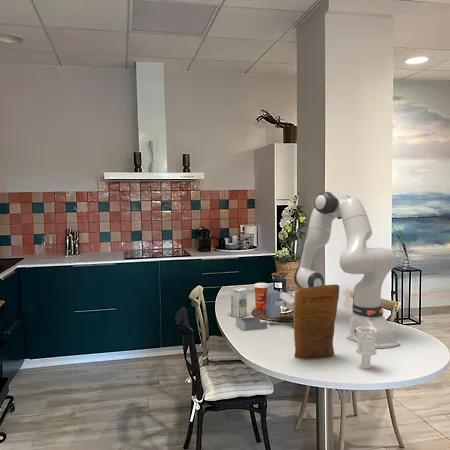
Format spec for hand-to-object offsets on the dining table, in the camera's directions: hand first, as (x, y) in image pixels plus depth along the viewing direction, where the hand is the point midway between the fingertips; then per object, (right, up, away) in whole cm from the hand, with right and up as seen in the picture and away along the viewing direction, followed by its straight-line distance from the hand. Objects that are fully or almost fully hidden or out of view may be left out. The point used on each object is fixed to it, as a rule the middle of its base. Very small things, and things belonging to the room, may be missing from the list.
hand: (271, 301), depth 211 cm
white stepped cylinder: (+29, -15, -53) cm, 62 cm away
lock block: (+1, -7, +1) cm, 7 cm away
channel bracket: (-9, -11, -3) cm, 15 cm away
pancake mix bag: (+13, -14, -42) cm, 46 cm away
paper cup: (-3, -9, +29) cm, 30 cm away
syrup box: (-15, -10, +15) cm, 24 cm away
